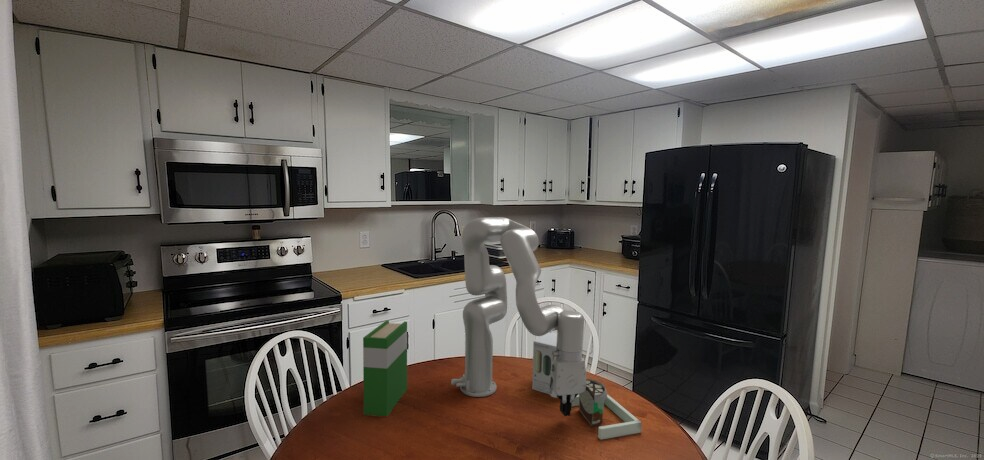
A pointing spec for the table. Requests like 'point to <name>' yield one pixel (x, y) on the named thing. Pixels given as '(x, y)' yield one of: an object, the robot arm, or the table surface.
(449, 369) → the table surface
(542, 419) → the table surface
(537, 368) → the supplement box
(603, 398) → the food container
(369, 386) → the hardback book
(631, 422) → the bay
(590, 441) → the table surface
